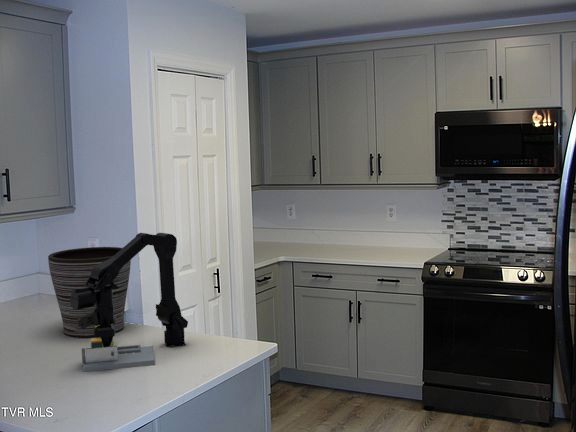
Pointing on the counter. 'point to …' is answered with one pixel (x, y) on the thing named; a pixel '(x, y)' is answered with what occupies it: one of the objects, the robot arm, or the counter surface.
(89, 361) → the rack door
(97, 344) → the fader knob
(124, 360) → the console
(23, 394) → the counter surface
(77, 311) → the planter pot
